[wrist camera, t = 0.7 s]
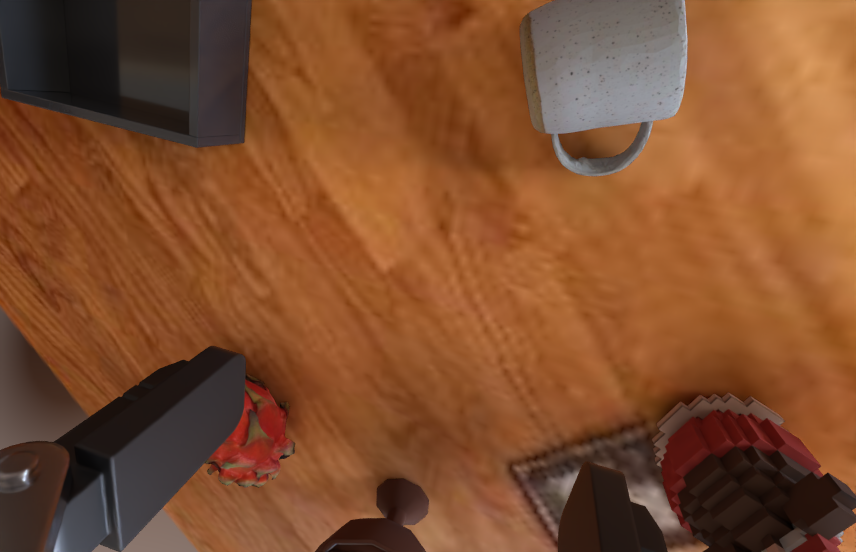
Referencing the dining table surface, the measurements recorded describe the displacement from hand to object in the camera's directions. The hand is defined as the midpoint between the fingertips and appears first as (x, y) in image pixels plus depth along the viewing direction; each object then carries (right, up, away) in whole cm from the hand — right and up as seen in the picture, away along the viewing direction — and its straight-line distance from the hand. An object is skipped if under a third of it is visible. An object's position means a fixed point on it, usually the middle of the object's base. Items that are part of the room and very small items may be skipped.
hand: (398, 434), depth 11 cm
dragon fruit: (-16, -9, +36) cm, 40 cm away
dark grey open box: (-21, +23, +25) cm, 40 cm away
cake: (+24, -9, +26) cm, 37 cm away
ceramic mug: (+12, +16, +20) cm, 28 cm away
